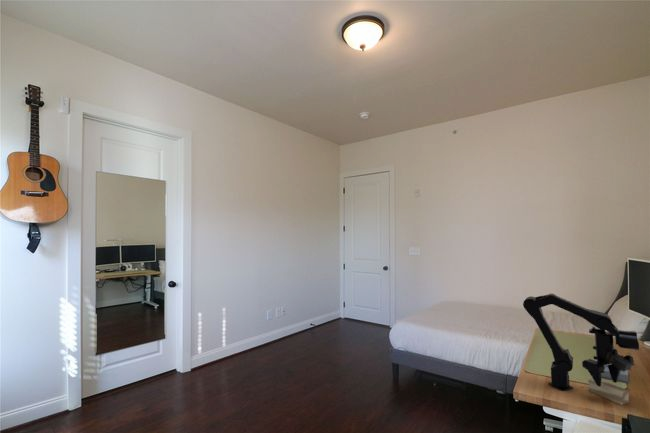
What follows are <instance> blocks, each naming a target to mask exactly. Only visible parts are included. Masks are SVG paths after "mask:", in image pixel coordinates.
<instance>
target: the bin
mask: <svg viewBox="0 0 650 433" xmlns="http://www.w3.org/2000/svg"><path fill="white" fill-rule="evenodd" d="M593 360H594V361H597V360H596V359H593ZM604 372H605V373H603V374H602V377H601V379H605V380H611V381H613V380H612V378H611V375H610V372H609V369H608V366H607V365H606V366H605V369H604ZM619 381H620V383H625V384H629V370H626V371H621V372H620V374H619V377H618V380H617V382H619Z"/></svg>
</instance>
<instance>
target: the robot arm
mask: <svg viewBox="0 0 650 433" xmlns="http://www.w3.org/2000/svg"><path fill="white" fill-rule="evenodd" d="M522 305H523V308H524V310H525V311H526V312H527V313H528V315H529V316H530V317H531V318H533V320H534V321H535V323H536V325H537V326H538V329H539V330H540V332H541V334H542V336H543V338H544V339H545V341H546V343H547V345H548V346H549V348H550V350H551V353H552V356H553V359H554V360H553V361H552V362H551V366H550V377H551V378H550V379H551V380H550V381H551V382H548V385H549V386H551V387H552V388H556V389H558V390H560V391H567V390H571V389H573V388H574V386H572V385H570V375H569V373H570V372H571V371H572V370H573V366H574V357H573V356H572V355H571V353H570V350H569V349H568V348H566V349H564V347H562V345H561V344H560V342H559V340H558V339H557V336H556V335H555V333H554V331H553V329H552V328H551V326H550V324H549V323H548V321H547V320H546V317H545V316H544V313H543V309H542V308H543V307H546V306H550V305H553V306H556V307H558V308H560V309H562V310H564V311H566V312H568V313H571V314H574V315H576V316H578V317H580V318H582V319H584V320H585V321H587V322H588V323H590V324H591V325H592V327H591V328H590V329H588V333H589V334H593V335H594V342H595V345H593V346H592V349H593V350H595V354H596V355H593V359H592V358H589V359H584V360H583V361H582V362H581V366H582V367H583V368H584V369H585V370H587V371H588V373H589V375H590V376H591V378H593V379H594V381H595V383H596V384H597V386H599V387H601V380H602V378H601V377H602V374H603V373H605V372H604V369H605V366H606V365H607V366H608V369H609V372H610V375H611V378H612V380H611V381H612V382H613V383H614V384H615V383H618V381H617V380H618V377H619V374H620V372H621V371H626V370H628V371H630V370H631V369H632V367H633V366H635V360H634V358H633V356H631V355H629V354H627V355H625V356H624V355H621V354H619V353H618V352H619V351H618V349H616V348H614V347H615V346H614V344H615V345H617V346H618V347H619V348H620V349H626V350H627V349H628V350H633V351H640V343H639V340H638V333H637V332H636V331H634V330H632V331H631V330H621V329H618V327H617V326H616V325H615V324H614V323H613V321H612V318H611V316H610V315H608V314H607V313H605V312H601V311H598V310H595V309H594V310H593V309H588V308H586V307H584V306H581V305H579V304H577V303H574V302H572V301H569V300H567V299H565V298H563V297H560V296H558V295H556V294H555V293H549V294H545V295H539V296H535V297H534V296H532V295H531V296H528V297H527V296H526V298H525V299H524V301H523V303H522ZM614 340H615V343H614ZM595 359H596V360H597V361H594V360H595Z"/></svg>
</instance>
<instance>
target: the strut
mask: <svg viewBox="0 0 650 433" xmlns="http://www.w3.org/2000/svg"><path fill="white" fill-rule="evenodd" d="M587 380H588V381H587V382H588V391H589V392H590V393H593V394H595V395H598V396H601V397H602V398H605V399H607V400H610V401H612V402H615V403H617V404H619V405H621V406H623V405H626V404H630V402H629V401H630V398H629V390H628V389H625V388H624V387H621V386H618V385H615V384H613V383H610V382H608V381H605V380H603V379H601V387H599V386H597V384H596V383H595V381H594V379H593V377H591V378H589V379H587Z"/></svg>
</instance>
